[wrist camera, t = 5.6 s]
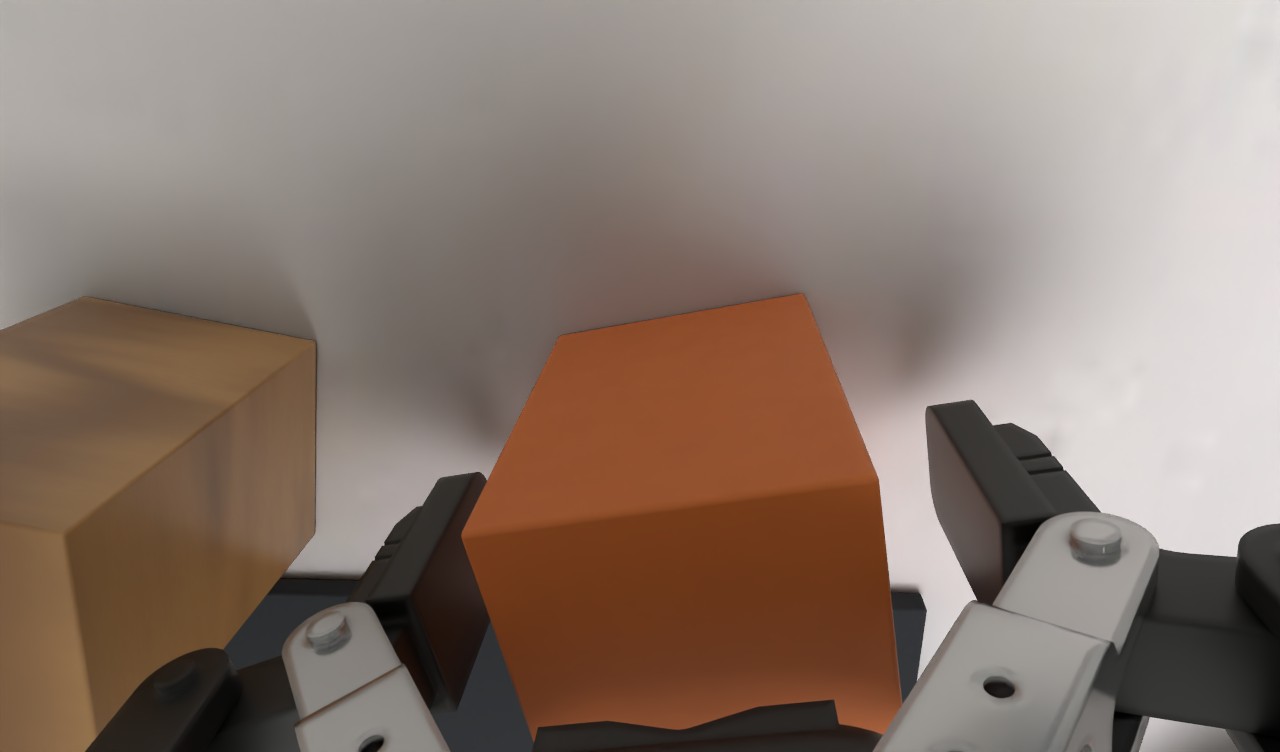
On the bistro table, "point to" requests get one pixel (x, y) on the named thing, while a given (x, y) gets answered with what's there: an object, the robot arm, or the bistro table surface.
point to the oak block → (138, 501)
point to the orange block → (688, 529)
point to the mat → (484, 661)
